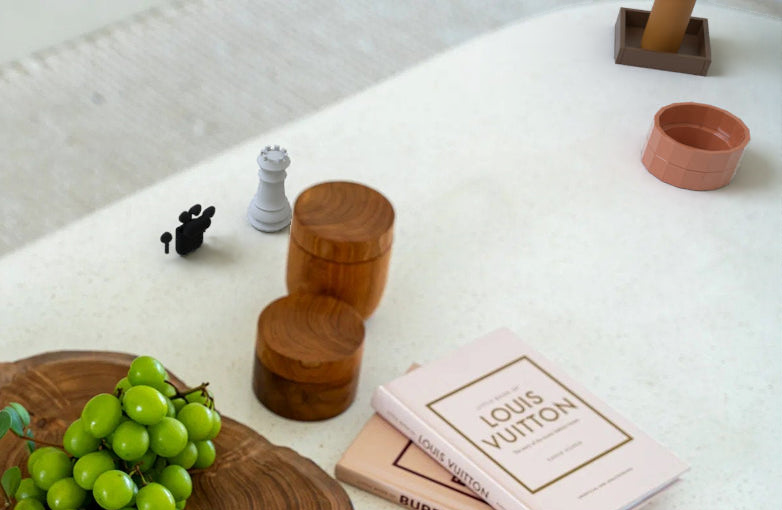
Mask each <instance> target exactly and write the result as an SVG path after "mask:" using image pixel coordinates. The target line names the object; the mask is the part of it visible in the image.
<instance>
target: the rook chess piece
mask: <svg viewBox="0 0 782 510" xmlns="http://www.w3.org/2000/svg"><path fill="white" fill-rule="evenodd" d="M280 146H281V145H278V144H274V148H272V147H271V145H270V144H267V145H265V146H264V148H262V149H261V151H260V154H258V155H257V157H256V160H255V161H256V164H257V165H258V167H259V170H258V172H257V176H258V178H259V181H258V186H257V190H256V193H255V194H253V197H252V198H251V199H250V201H249V204H248V206H247V210H248V211H247V212H246V219H247V221H248V223H249V224H250V225H251V226H252V227H253V228H254V229H256V230H258V231H261V232H266V233H275V232H279V231H282V230H283V229H284V228H286V226H288V225H289V224H290V223H291V220H292V207H291V203H290V201H289V200H288V196H286V190H285V189H286V188H285V180H286V179H287V177H288V172H287V171H286V169H288V168H289V167H290V166H291V158H290V156H289V153H288V152H287V151H288V149H286V148H285V147H280ZM280 148H281V149H280ZM290 219H291V220H290Z"/></svg>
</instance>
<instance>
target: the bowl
mask: <svg viewBox="0 0 782 510" xmlns="http://www.w3.org/2000/svg"><path fill="white" fill-rule="evenodd" d="M650 123H651V124H650V126H649V129H648V131H647V135H646V138H645V140H644V142H643V145H642V148H641V151H640V155H641V157H640V160H641V161H640V162H641V163H642V165H643V166H644V167H645V169H646V171H647V172H648V173H650V174H651V175H652V176H654V177H655V178H657V179H658V180H659V181H661V182H663V183H666V184H668V185H671V186H674V187H676V188H680V189H686V190H690V191H691V190H692V191H698V192H700V191H712V190H713V191H714V190H718V189H720V188H722V187H726V186H728V185H729V184H730V183H731V182H732V180H733V179H734V178H735V176H736V174H737V173H738V170H739V167H740V165H741V164H742V161H743V158H744V155H745V153H746V151H747V149H748V147H749V145H750V142H751V140H752V139H751V131H750V128H749V127H748V125H746V123H745V122H744V121H743V120H742V119H741V117H738V116H737V115H735V114H733V113H732V112H730V111H728V110H726V109H723V108H720V107H717V106H715V105H712V104H708V103H701V102H695V101H684V102H673V103H670V104H667V105H664V106H662V107H660V108H659V109H658V111H656V113H655V114H654V115H653V118H652V120H651V122H650Z"/></svg>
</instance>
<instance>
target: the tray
mask: <svg viewBox="0 0 782 510" xmlns="http://www.w3.org/2000/svg"><path fill="white" fill-rule="evenodd" d="M650 13H651V10H647V9H638V8H633V7H632V8H631V7H625V6H624V7H623V6H620V8H619V11H618V14H617V17H616V20H615V24H614V47H613V60H614V64H615V65H620V66H627V67H634V68H635V67H636V68H641V69H642V68H643V69H649V70H657V71H663V72H670V73H677V74H685V75H691V76H698V77H707V74H708V71H709V69H710V66H711V64H712V61H713V59H712V50H711V39H710V38H711V37H710V30H709V28H710V27H709V18H706V17H698V16H692V15H691V17H690V20H689V23H688V26H687V28H686V31H685V34H684V37H683V40H682V42H681V45H680V48H679V51H678V53H670V52H662V51H655V50H648V49H641V47H640V43H641V40H642V37H643V34H644V31H645V28H646V25H647V22H648V19H649V16H650Z"/></svg>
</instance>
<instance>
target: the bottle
mask: <svg viewBox="0 0 782 510" xmlns="http://www.w3.org/2000/svg"><path fill="white" fill-rule="evenodd" d="M696 3H697V0H653V4H652V7H651V9H650V11H651V13H650V16H649V19H648V22H647V25H646V28H645V31H644V34H643V37H642V40H641V43H640V47H641V49H648V50H655V51H662V52H670V53H678V51H679V48H680V45H681V42H682V40H683V37H684V34H685V31H686V28H687V26H688V23H689V20H690V17H691V16H692V14H693V12H694V8H695V5H696Z"/></svg>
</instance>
